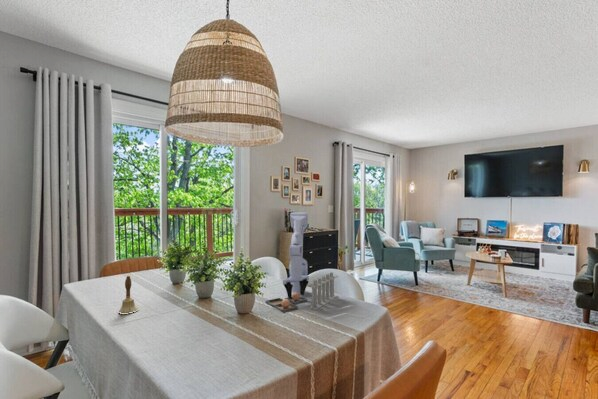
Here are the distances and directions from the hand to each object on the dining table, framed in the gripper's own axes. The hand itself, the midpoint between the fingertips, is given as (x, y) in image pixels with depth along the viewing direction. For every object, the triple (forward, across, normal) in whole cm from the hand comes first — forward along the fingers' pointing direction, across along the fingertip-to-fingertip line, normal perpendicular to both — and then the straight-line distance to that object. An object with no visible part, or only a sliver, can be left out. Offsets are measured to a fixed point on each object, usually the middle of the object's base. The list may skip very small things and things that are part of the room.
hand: (296, 296), depth 155 cm
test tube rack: (+3, +10, -9) cm, 14 cm away
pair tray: (+3, -10, -2) cm, 10 cm away
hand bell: (+3, -70, +33) cm, 77 cm away
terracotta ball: (+2, 0, 0) cm, 2 cm away
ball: (+2, -10, -6) cm, 12 cm away
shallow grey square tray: (+3, 0, 0) cm, 3 cm away
